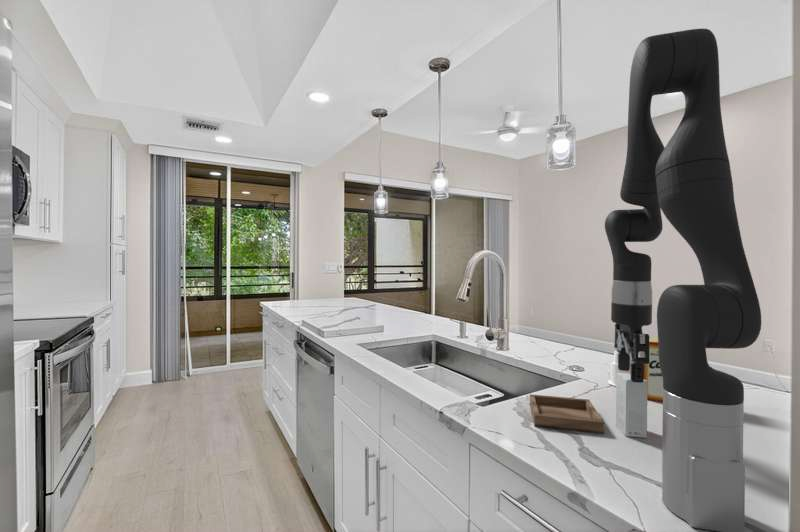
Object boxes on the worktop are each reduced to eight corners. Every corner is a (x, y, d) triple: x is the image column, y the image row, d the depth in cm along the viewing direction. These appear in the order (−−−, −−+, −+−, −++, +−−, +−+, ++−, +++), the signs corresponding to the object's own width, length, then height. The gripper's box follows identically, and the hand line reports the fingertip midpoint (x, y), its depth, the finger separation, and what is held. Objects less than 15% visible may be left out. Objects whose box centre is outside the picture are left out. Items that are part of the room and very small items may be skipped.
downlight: (602, 383, 114) (603, 351, 114) (612, 379, 118) (614, 348, 118) (630, 391, 108) (632, 357, 107) (640, 387, 112) (642, 354, 112)
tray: (603, 434, 80) (604, 422, 80) (534, 426, 84) (534, 415, 84) (588, 409, 94) (589, 399, 93) (529, 403, 97) (529, 394, 97)
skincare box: (648, 438, 78) (648, 381, 78) (625, 436, 79) (625, 380, 79) (635, 426, 84) (636, 373, 84) (614, 424, 85) (615, 371, 85)
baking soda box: (682, 398, 102) (682, 339, 102) (685, 406, 96) (685, 344, 96) (641, 392, 107) (641, 336, 107) (641, 398, 101) (641, 339, 101)
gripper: (665, 306, 73) (663, 388, 74) (638, 298, 87) (637, 367, 87) (622, 304, 75) (621, 384, 76) (603, 297, 89) (602, 365, 89)
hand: (629, 375), depth 82 cm, fingers open, 8 cm apart
